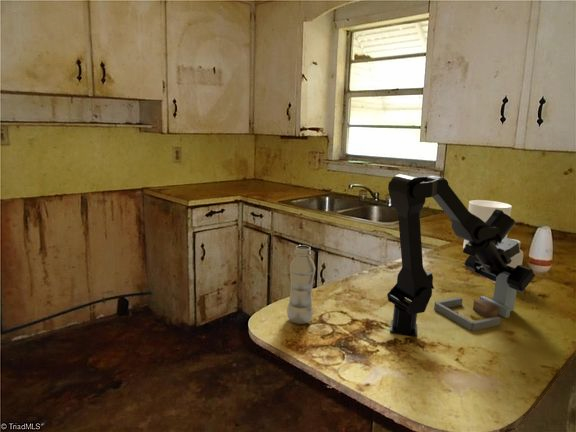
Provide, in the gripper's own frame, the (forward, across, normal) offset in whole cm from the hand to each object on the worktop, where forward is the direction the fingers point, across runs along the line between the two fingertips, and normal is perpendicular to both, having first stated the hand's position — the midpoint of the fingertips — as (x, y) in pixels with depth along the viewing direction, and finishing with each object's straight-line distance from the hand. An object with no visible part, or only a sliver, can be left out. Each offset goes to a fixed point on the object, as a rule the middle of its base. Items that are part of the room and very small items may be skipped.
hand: (509, 285), depth 121 cm
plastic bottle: (-38, +13, +47) cm, 62 cm away
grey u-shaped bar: (-6, 0, +16) cm, 17 cm away
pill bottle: (+17, +14, -7) cm, 23 cm away
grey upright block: (+3, 0, +7) cm, 7 cm away
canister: (+34, +44, -24) cm, 61 cm away
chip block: (-1, 0, +11) cm, 11 cm away
